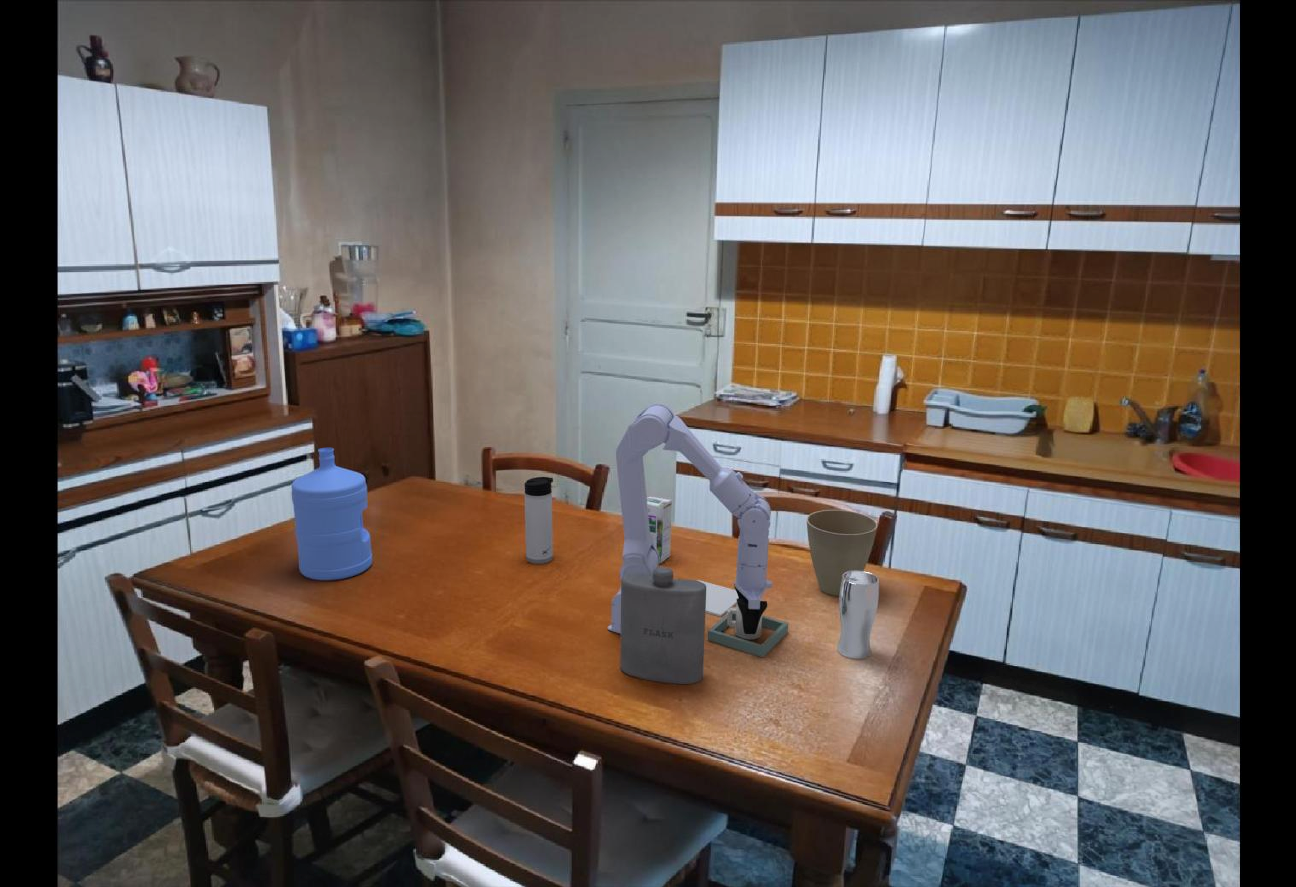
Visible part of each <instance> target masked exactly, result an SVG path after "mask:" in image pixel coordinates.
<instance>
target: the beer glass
mask: <svg viewBox="0 0 1296 887" xmlns="http://www.w3.org/2000/svg"><path fill="white" fill-rule="evenodd" d="M879 583H880V579H879V577H878V576H877V575H876V574H874V573H872V572H868V571H865V570H864V571H859V570H852V571H847V572H845V573H843V575H842V582H841V587H840V595H839V596H838V607H839V608H838V609H839V619H840V635H839V640H838V642H837V643H838V644H837V652H838V653H839V654H840V655H841V656H843V657H845V658H849V659H853V660H864V659H866V658H869V657H870V655H871V653H872V652H871V633H872V629H873V625H874V622H875V620H876V614H877V612H878V605H879V597H880V596H879V595H880V594H879V593H880V584H879Z"/></svg>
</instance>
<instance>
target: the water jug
mask: <svg viewBox="0 0 1296 887" xmlns="http://www.w3.org/2000/svg"><path fill="white" fill-rule="evenodd" d="M334 451H335V449H334V448H333V447H322V448H319V449H318V451H317V452H318V453H319V456H318V460H319V467H318V468H316V469H314V470H312V471H309V472H307V473H305V474H304V475H302V476H300V477H297V478H296V479H294V481H292V483H291V486H290V487H291V501H292V505H293V514H294V515H293V516H294V523H295V524H294V525H295V526H294V532H295V537H296V543H297V552H298V554H297V555H298V568H299V569H298V570H299V572H300V574H302V575H303V576H304V577H306V578H308V579H312V580H315V581H337V580H344V579H348V578H351V577H353V576H357V575H359V574H362V573H364V572H365V571H366V570H368V569H369V568H370V567H371V566H372V564H373V551H372V546H371V545H372V544H371V535H370V532H369V531H368V530H367V529H366V528H365V527H364V523H363V522H364V521H363V511H365V510H366V509H367V508H368V486H367V483H366V481H367V480H366V477H365V476H364V474H362V473H360V472H359V471H358V472H357V471H353V470H350V469H347V468H344V467H341V466H337V465H336V464H335V455H334Z"/></svg>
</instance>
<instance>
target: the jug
mask: <svg viewBox="0 0 1296 887" xmlns="http://www.w3.org/2000/svg"><path fill="white" fill-rule="evenodd" d="M735 606H736V607H732V608H730V609H728V611H727V614H726V615H727V625H729V626H728V627H729V628H734V632H735V635H736V637H738V638H741V639H744V640H755V639H758V638H760V637H761V636H762V628H763V627H762V616H761V618H760V621H759V624H758V628H757V631H756V633H755V634H745V633H744V629H743V621H742V614H741V611H740V609H739V607H738V605H737V604H736V605H735ZM732 614H736V620H735V621H732Z"/></svg>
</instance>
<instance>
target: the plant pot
mask: <svg viewBox="0 0 1296 887" xmlns="http://www.w3.org/2000/svg"><path fill="white" fill-rule="evenodd" d="M878 525H879V524H878V523H877V521H876V519H874V518H872V517H871V516H868V515H866V514H864V513H860V512H856V511H852V510H851V511H850V510H845V509H843V510H842V509H823V510H819V511H813V512H811V513H810V514H808V515H807V517H806V531H807V540H808V546H809V552H810V558H811V563H812V566H813V570H814V574H815V577H816V580H817V583H818V587H819V589H820V590H821V591H822V592H823V593H825V594H827V595H830V596H835V597H839V595H840V587H841V582H842V575H843V573H845V572H847V571H852V570H859V571H865V569H866V567H867V563H868V561H869V558H870V554H871V552H872V549H873V545H874V542H875V538H876V534H877V530H878Z"/></svg>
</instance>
